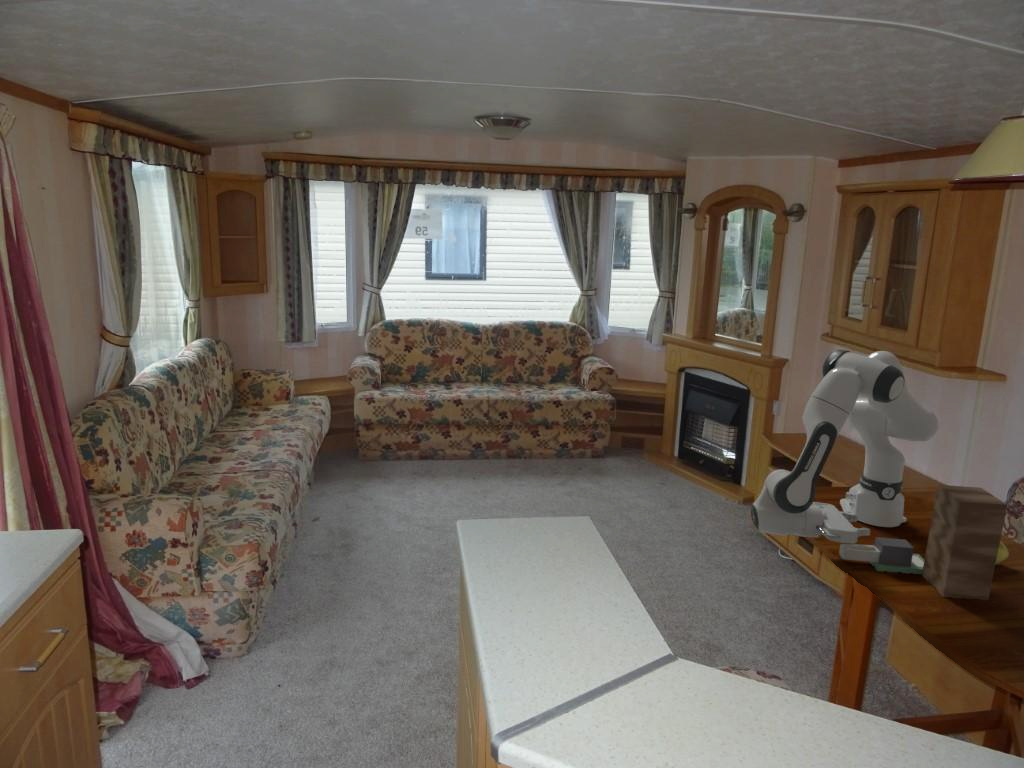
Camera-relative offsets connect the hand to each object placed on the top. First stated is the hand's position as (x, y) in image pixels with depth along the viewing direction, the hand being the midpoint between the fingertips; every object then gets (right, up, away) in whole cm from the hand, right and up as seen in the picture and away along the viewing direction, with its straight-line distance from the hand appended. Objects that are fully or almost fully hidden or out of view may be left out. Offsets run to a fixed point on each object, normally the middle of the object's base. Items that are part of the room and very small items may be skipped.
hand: (862, 524), depth 203 cm
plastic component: (+32, -12, +4) cm, 35 cm away
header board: (+11, -12, +2) cm, 16 cm away
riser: (+19, -15, -10) cm, 26 cm away
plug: (+4, -10, +1) cm, 11 cm away
